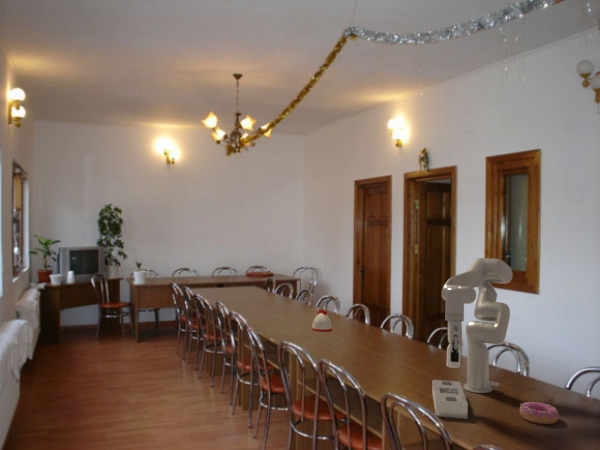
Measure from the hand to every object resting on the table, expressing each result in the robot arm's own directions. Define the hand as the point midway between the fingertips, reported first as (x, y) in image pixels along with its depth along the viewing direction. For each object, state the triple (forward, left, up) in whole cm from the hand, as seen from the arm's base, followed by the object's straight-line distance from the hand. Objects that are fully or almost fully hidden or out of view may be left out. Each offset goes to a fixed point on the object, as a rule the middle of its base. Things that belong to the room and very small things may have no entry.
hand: (453, 359), depth 229 cm
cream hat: (+78, -145, -20) cm, 166 cm away
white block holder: (+2, 0, -20) cm, 20 cm away
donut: (-32, +8, -20) cm, 39 cm away
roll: (0, 0, -3) cm, 3 cm away
